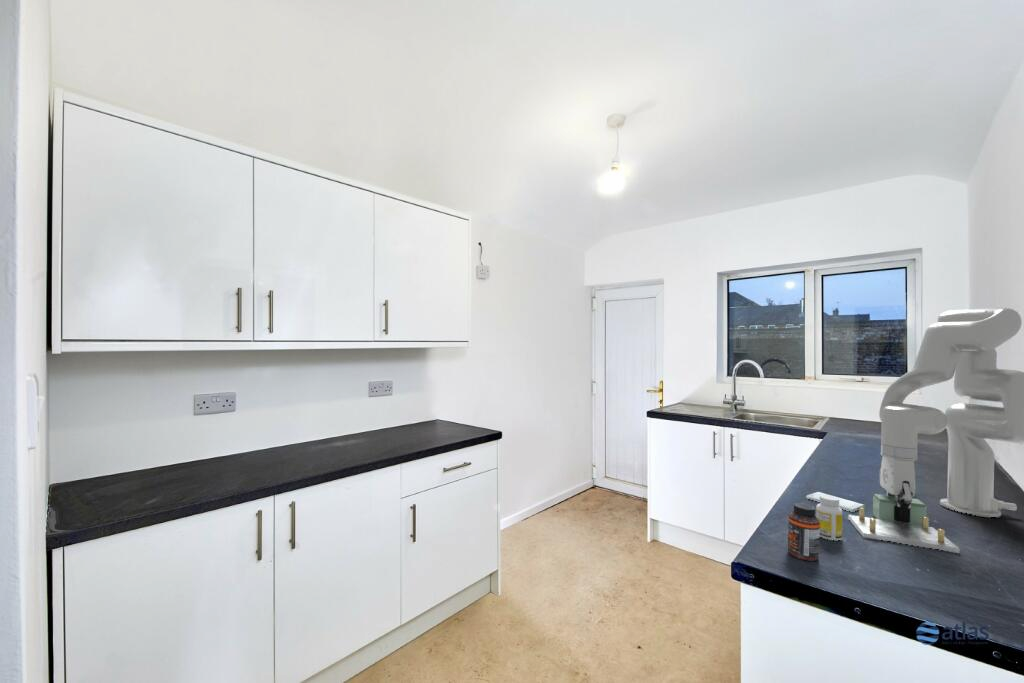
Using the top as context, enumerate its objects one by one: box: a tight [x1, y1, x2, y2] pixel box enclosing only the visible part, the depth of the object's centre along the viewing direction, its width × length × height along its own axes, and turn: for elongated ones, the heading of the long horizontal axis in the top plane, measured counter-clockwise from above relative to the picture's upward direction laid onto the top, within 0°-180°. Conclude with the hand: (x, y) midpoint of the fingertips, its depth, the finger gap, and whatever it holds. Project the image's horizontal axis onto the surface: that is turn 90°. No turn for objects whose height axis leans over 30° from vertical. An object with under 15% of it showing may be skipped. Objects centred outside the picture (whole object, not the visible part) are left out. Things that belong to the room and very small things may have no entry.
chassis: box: [847, 507, 960, 554], centre depth 111 cm, size 18×13×4 cm
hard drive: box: [805, 491, 866, 513], centre depth 133 cm, size 2×8×12 cm
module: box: [872, 493, 928, 526], centre depth 120 cm, size 10×5×6 cm, turn 66°
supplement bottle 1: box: [787, 502, 821, 562], centre depth 99 cm, size 6×6×11 cm
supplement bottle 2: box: [815, 494, 844, 542], centre depth 109 cm, size 5×5×10 cm
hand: (897, 517), depth 120 cm, fingers closed on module, 5 cm apart
